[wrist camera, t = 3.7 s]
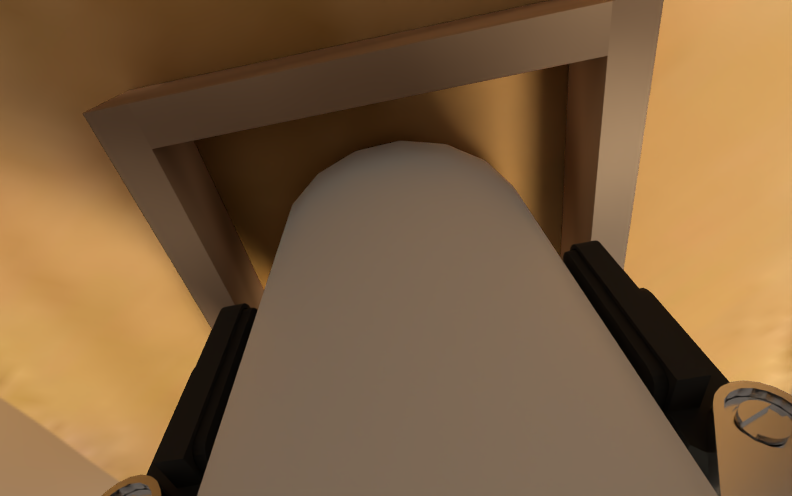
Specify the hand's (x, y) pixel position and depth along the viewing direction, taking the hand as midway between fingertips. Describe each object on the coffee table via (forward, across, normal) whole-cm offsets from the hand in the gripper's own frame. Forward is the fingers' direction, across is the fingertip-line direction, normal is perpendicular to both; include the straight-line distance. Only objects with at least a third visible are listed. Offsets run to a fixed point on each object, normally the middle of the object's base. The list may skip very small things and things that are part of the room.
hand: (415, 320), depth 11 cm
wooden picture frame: (+3, 0, 0) cm, 3 cm away
